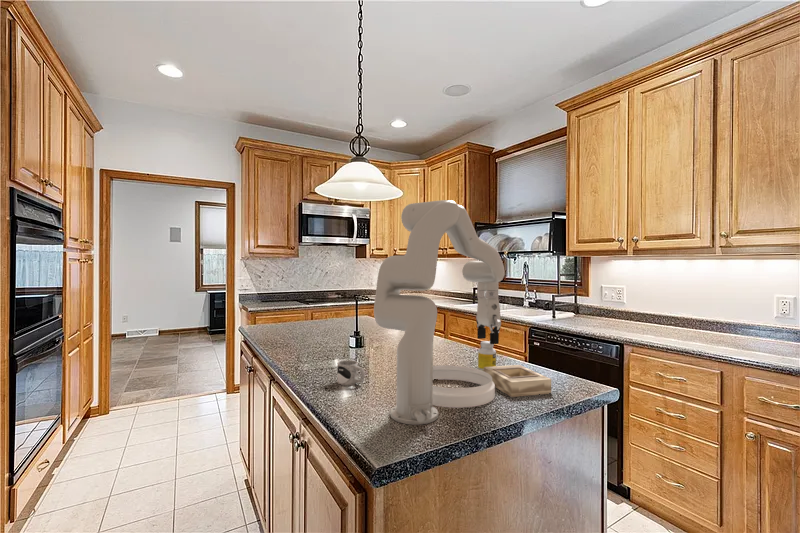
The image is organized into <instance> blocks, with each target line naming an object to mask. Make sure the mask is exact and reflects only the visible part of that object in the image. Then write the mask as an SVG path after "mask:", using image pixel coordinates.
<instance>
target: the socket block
mask: <svg viewBox="0 0 800 533" xmlns="http://www.w3.org/2000/svg"><path fill="white" fill-rule="evenodd" d="M484 372H486V373H488V374H490V375H491V377H492V381H493V382H494V384H495V389H497V390H500V392H502V393H504V394H505V395H508V396H509V397H511V398H514V397H515V398H516V397H525V396H540V395H550V394H549V393H551V394H552V378H549V377H547V376H545V375H543V374H541V373H538V372H536V371H534V370H531V369H530V368H527V367H525V366H522V365H520V364H511V365H509V364H508V365H496V366H493V367H484ZM539 394H540V395H539Z"/></svg>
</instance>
